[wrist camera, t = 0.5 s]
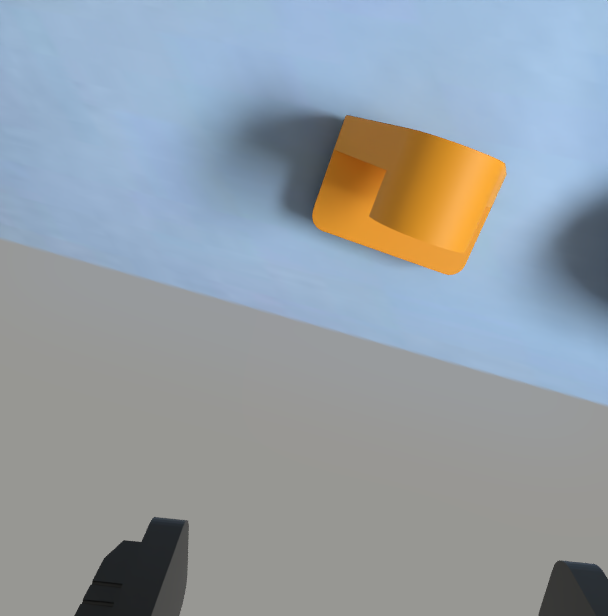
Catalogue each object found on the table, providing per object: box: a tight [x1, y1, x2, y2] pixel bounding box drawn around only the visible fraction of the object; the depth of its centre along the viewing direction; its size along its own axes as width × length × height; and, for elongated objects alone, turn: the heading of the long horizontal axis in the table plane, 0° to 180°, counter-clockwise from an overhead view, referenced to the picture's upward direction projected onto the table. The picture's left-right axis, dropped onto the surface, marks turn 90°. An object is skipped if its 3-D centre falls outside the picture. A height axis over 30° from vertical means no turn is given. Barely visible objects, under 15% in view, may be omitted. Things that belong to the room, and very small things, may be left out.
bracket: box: [312, 115, 506, 275], centre depth 30 cm, size 11×7×12 cm, turn 71°
